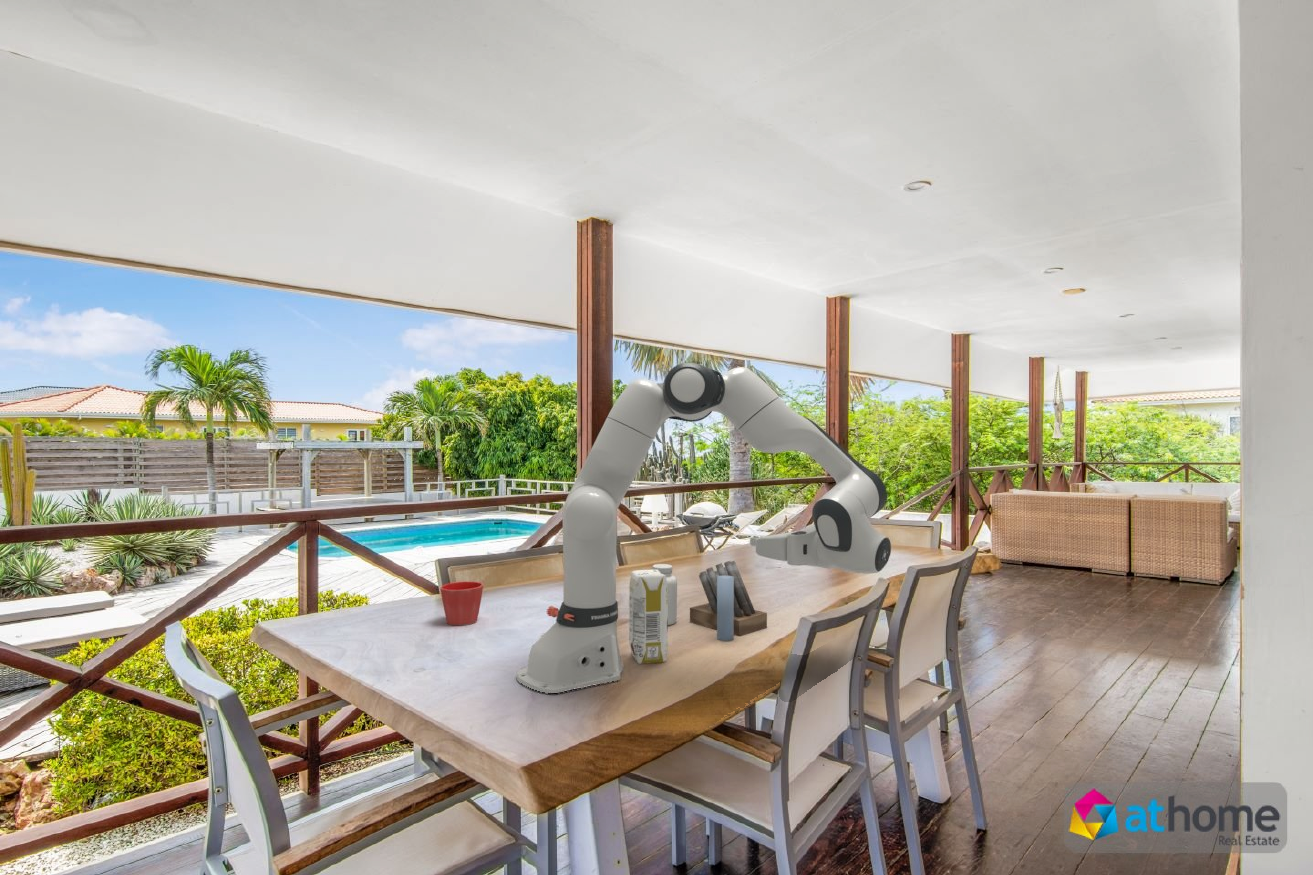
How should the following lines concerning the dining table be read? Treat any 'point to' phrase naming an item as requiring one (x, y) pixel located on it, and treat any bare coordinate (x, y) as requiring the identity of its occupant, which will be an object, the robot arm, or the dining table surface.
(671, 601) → the pill bottle
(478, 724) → the dining table surface
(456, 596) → the flower pot
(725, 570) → the slanted rod rack
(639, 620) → the juice carton
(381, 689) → the dining table surface
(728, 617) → the peg
